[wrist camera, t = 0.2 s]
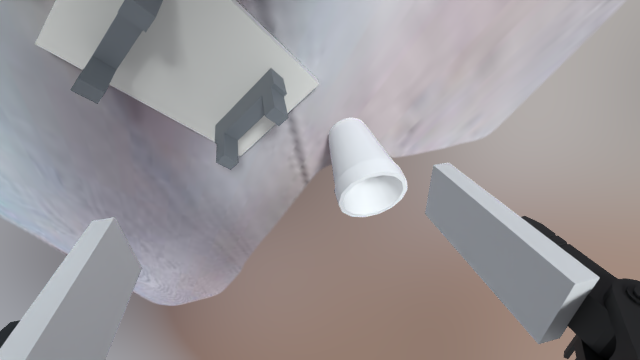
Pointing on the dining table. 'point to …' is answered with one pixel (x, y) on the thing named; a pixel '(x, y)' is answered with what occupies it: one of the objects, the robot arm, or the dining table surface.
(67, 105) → the dining table surface
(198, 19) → the clip rack
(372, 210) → the foam cup
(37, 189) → the dining table surface
